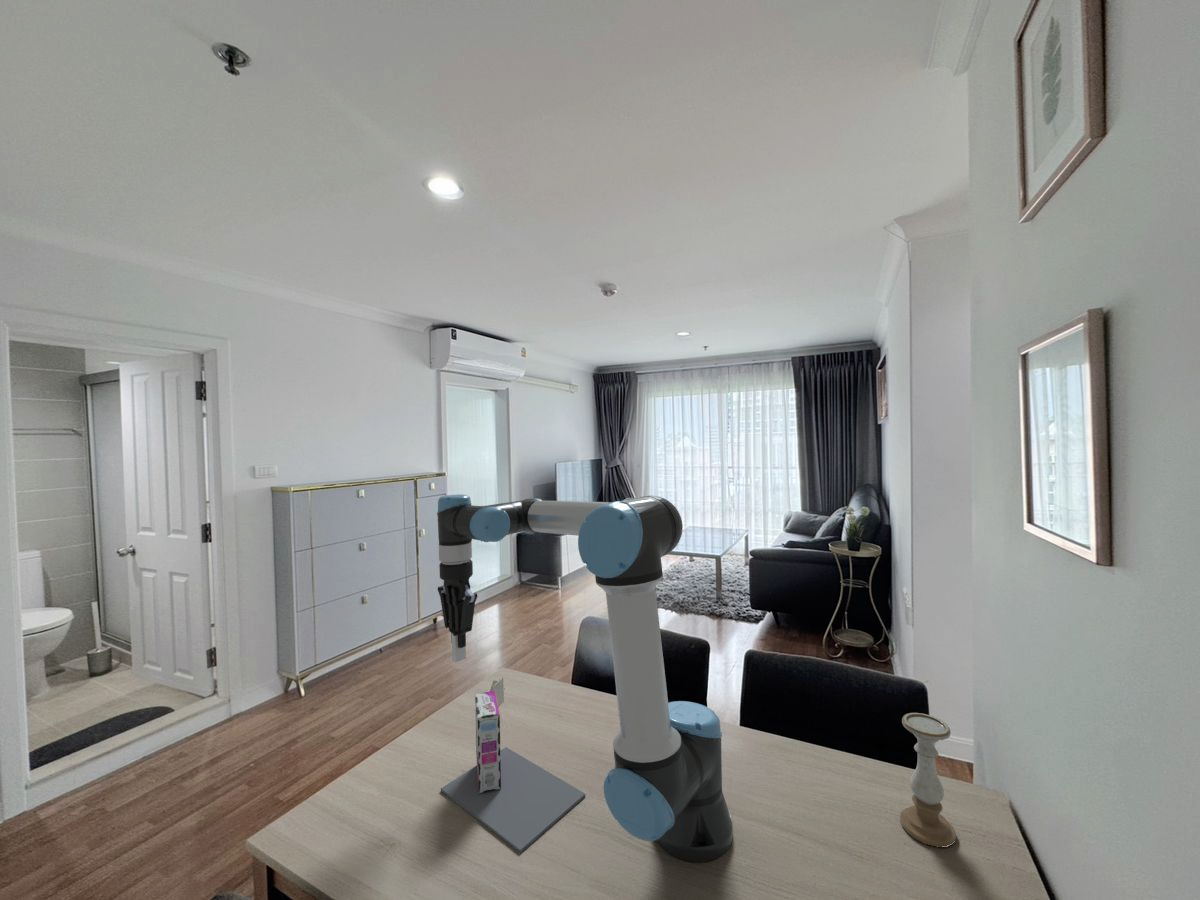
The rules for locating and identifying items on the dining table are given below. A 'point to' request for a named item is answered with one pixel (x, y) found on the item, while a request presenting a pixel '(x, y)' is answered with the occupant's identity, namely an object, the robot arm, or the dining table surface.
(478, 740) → the candy bar box
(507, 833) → the mat
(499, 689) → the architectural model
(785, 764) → the dining table surface
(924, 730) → the candle holder
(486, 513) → the robot arm
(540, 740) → the dining table surface
